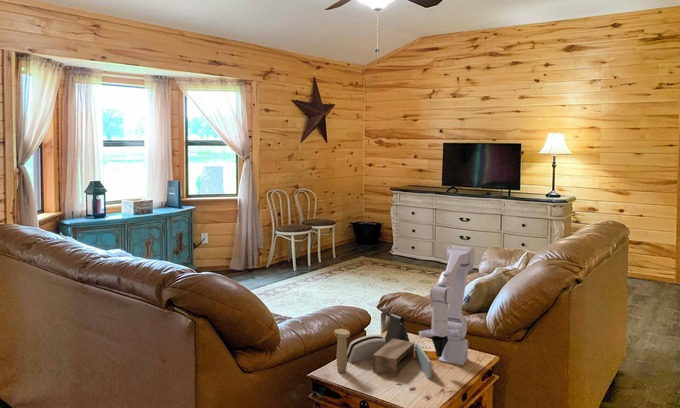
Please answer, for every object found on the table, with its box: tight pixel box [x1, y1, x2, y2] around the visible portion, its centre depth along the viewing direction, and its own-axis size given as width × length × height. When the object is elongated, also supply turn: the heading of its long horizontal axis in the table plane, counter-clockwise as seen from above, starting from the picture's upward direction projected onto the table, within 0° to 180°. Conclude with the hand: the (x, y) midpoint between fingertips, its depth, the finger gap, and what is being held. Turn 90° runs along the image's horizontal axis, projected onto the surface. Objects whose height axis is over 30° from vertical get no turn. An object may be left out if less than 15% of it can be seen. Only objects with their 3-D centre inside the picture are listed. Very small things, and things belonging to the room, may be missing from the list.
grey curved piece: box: [347, 334, 386, 363], centre depth 217 cm, size 17×5×10 cm, turn 122°
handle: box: [333, 328, 351, 374], centre depth 203 cm, size 5×6×15 cm
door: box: [414, 343, 434, 379], centre depth 207 cm, size 2×18×6 cm, turn 7°
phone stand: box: [384, 313, 410, 344], centre depth 232 cm, size 9×6×12 cm, turn 126°
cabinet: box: [372, 339, 415, 378], centre depth 210 cm, size 9×19×6 cm, turn 152°
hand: (438, 356), depth 202 cm, fingers closed
